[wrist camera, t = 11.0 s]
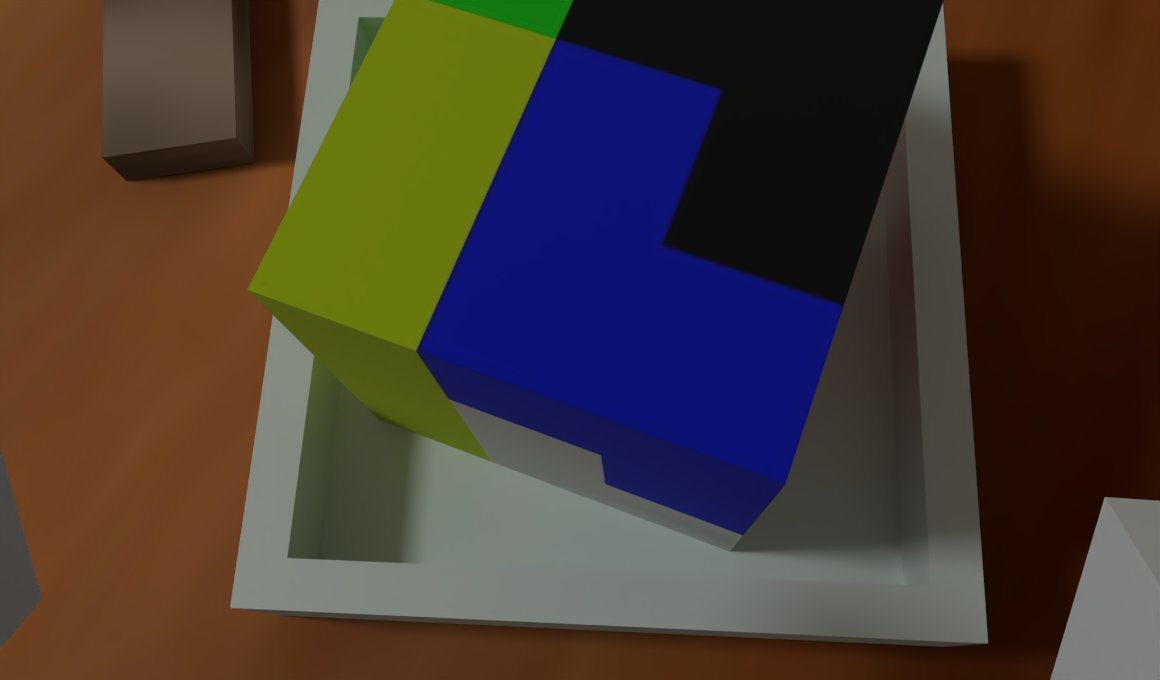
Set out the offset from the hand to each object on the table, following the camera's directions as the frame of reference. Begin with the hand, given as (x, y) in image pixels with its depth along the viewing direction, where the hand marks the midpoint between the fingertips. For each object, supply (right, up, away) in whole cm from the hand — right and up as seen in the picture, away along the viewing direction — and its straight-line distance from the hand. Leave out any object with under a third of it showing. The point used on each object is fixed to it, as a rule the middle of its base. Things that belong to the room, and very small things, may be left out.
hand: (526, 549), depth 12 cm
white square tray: (+2, +3, +17) cm, 17 cm away
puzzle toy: (+2, +3, +16) cm, 17 cm away
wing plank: (-12, +14, +22) cm, 29 cm away
